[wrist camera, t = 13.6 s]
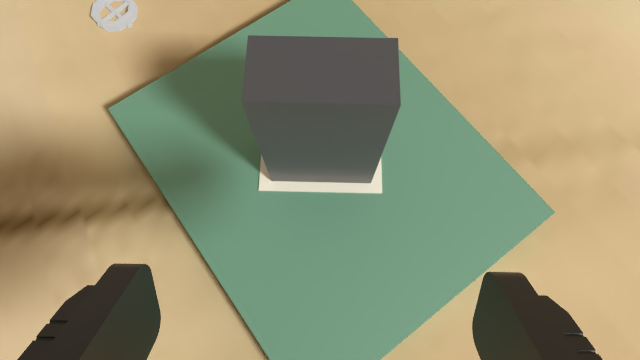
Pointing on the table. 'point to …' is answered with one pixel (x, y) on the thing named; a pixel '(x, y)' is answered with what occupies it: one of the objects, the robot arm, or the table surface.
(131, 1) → the key
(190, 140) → the header board
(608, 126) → the table surface
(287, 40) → the block
